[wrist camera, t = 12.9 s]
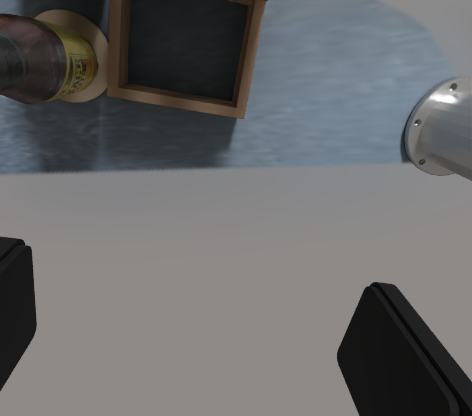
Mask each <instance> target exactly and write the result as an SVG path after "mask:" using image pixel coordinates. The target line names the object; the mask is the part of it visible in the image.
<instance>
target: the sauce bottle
mask: <svg viewBox="0 0 472 416" xmlns="http://www.w3.org/2000/svg"><path fill="white" fill-rule="evenodd" d="M98 66H99V65H98V62H97V57H96V53H95V51H94V49H93V47H92V45H91V44H90V42H89V41H88V40H87V39H85V38H84V37H83V36H82V35H81V34H80V33H78V32H77V31H75V30H73V29H70V28H67V27H63V26H60V25H56V24H52V23H49V22H45V21H41V20H37V19H34V18H30V17H24V16H18V15H12V14H4V13H3V14H0V94H1V95H3V96H6V97H9V98H11V99H14V100H17V101H19V102H22V103H25V104H40V103H45V102H48V101H51V100H54V99H58V98H61V97H65V96H67V95H70V94H74V93H77V92H80V91H82V90H84V89H86V88H87V87H88V86H89V85H90V84H91V83H92V82H93V80H94V78H95V77H96V74H97V71H98Z"/></svg>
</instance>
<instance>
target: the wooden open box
mask: <svg viewBox="0 0 472 416" xmlns="http://www.w3.org/2000/svg"><path fill="white" fill-rule="evenodd" d="M227 1H231V2H236V3H240V4H245V5H248V9H247V15H246V21H245V27H244V33H243V39H242V45H241V51H240V57H239V62H238V68H237V74H236V80H235V86H234V92H233V98H232V101H226V100H221V99H215V98H209V97H204V96H198V95H192V94H186V93H181V92H175V91H169V90H164V89H158V88H152V87H147V86H141V85H135V84H129V83H127V79H128V57H129V36H130V14H131V0H110V3H109V46H108V88H107V96H108V97H114V98H120V99H126V100H132V101H138V102H144V103H150V104H156V105H162V106H168V107H174V108H180V109H186V110H192V111H198V112H204V113H210V114H216V115H222V116H228V117H234V118H240V119H244V116H245V111H246V106H247V100H248V95H249V90H250V84H251V79H252V74H253V68H254V63H255V58H256V52H257V47H258V42H259V36H260V31H261V26H262V20H263V15H264V10H265V4H266V1H267V0H227Z"/></svg>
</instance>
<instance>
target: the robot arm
mask: <svg viewBox="0 0 472 416" xmlns="http://www.w3.org/2000/svg"><path fill="white" fill-rule="evenodd" d="M405 149H406V152H407V155H408V157H409V159H410V160H411V162H412V163H413V164H414V165H415V166H416V167H417V168H419V169H420V170H422V171H424V172H426V173H429V174H432V175H438V176H441V175H450V174H454V173H456V174H459V175H461V176H463V177H465V178H467V179H469V180H471V181H472V77H458V78H453V79H450V80H447V81H445V82H443V83H441V84H439V85H437V86H436V87H434V88H433V89H432V90H430V91H429V92H428V93H427V94H426V95H425V96H424V97H423V98H422V99H421V100H420V101H419V103H418V104H417V105H416V107H415V108H414V110H413V112H412V113H411V116H410V118H409V120H408V123H407V127H406V131H405ZM33 278H34V277H33V262H32V250H31V247H30V246H26V245H25V242H24V241H23V240H21V239H16V238H7V237H0V391H1V389H2V388H3V386H4V384H5V383H6V381H7V380H8V378H9V376H10V375H11V373H12V371H13V370H14V368H15V366H16V365H17V363H18V362H19V360H20V358H21V357H22V355H23V354H24V352H25V350H26V349H27V347H28V345H29V344H30V342H31V341H32V339H33V337H34V334H35V331H36V324H37V323H36V307H35V292H34V279H33ZM337 361H338V364H339V367H340V369H341V372H342V374H343V377H344V379H345V382H346V384H347V387H348V389H349V391H350V394H351V396H352V399H353V401H354V403H355V406H356V408H357V411H358V413H359V416H472V382H471V380H470V379H469V378H468V377H467V375H466V374H465V373H464V371H463V370H462V369H461V368H460V366H459V365H458V364H457V363H456V361H455V360H454V359H453V358H452V356H451V355H450V354H449V353H448V351H447V350H446V349H445V348H444V346H443V345H442V344H441V342H440V341H439V340H438V339H437V337H436V336H435V335H434V334H433V332H432V331H431V330H430V329H429V327H428V326H427V325H426V324H425V322H424V321H423V320H422V318H421V317H420V316H419V315H418V313H417V312H416V311H415V310H414V308H413V307H412V306H411V304H410V303H409V302H408V301H407V299H406V298H405V297H404V296H403V294H402V293H401V292H400V291H399V289H398V288H397V287H396V286H395V285H393V284H386V283H378V282H374V283H372V284H371V285H370V286H368V287H366V288H365V290H364V291H363V294H362V296H361V298H360V301H359V303H358V306H357V308H356V310H355V313H354V315H353V317H352V319H351V322H350V324H349V326H348V329H347V331H346V333H345V336H344V338H343V340H342V342H341V345H340V347H339V349H338V352H337Z"/></svg>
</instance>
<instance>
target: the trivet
mask: <svg viewBox="0 0 472 416" xmlns="http://www.w3.org/2000/svg"><path fill="white" fill-rule="evenodd" d="M34 19H37V20H41V21H45V22H49V23H52V24H56V25H60V26H63V27H67V28H70V29H73V30H75V31H77V32H78V33H80V34H81V35H82V36H83V37H84V38H85V39H87V40H88V41H89V42H90V44H91V45H92V47H93V49H94V51H95V53H96V57H97V62H98V65H99V66H98V71H97V74H96V77H95V78H94V80H93V82H92V83H91V84H90V85H89V86H88V87H87V88H86V89H84V90H82V91H80V92H77V93H74V94H70V95H67V96H65V97H61V98H58V99H60V100H63V101H67V102H74V103H78V102H86V101H89V100H92V99H94V98H96V97H97V96H99V95H100V94H102V93H103V92H104V91H105V89H106V88H107V87H108V46H109V43H108V41H107V39H106V37H105V36H104V34H103V33H102V31H101V30H100V29H99V28H98V27H97V26H96V25H95V24H94V23H93V22H92V21H90V20H89V19H87V18H86V17H84V16H82V15H80V14H78V13H75V12H72V11H68V10H49V11H46V12H43V13H41V14H39V15H38V16H36V17H35V18H34Z"/></svg>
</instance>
